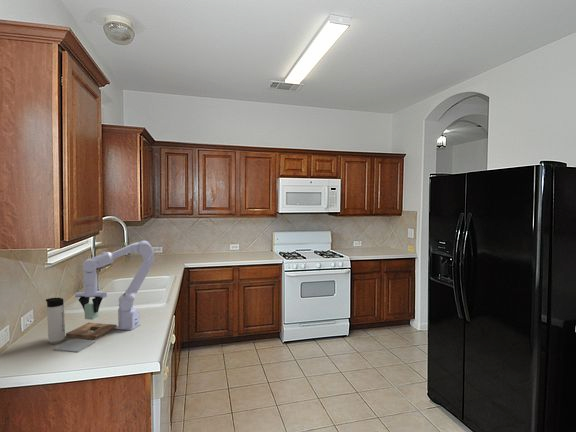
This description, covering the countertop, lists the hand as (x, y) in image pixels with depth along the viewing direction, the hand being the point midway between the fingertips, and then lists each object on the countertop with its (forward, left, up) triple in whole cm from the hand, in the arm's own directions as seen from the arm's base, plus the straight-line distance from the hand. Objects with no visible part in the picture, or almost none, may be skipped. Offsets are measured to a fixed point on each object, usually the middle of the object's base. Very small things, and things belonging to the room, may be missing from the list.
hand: (91, 311), depth 165 cm
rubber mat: (-4, +15, -10) cm, 18 cm away
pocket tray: (0, 0, -10) cm, 10 cm away
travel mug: (+8, +12, -10) cm, 18 cm away
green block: (0, 0, -3) cm, 3 cm away
